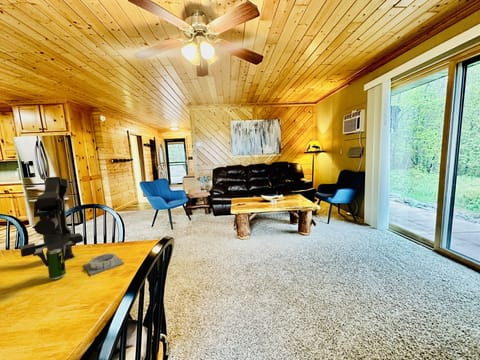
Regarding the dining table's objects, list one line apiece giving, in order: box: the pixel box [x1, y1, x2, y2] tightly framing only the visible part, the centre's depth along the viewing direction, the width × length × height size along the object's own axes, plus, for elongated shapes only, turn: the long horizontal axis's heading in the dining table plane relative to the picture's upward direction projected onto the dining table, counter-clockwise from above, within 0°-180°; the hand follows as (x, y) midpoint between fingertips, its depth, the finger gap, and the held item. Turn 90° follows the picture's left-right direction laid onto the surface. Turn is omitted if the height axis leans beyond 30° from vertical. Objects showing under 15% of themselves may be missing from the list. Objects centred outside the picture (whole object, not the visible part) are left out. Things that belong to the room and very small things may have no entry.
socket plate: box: [83, 256, 125, 277], centre depth 97 cm, size 13×13×1 cm
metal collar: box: [88, 252, 118, 270], centre depth 97 cm, size 10×10×2 cm
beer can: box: [45, 248, 67, 280], centre depth 86 cm, size 5×5×12 cm
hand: (56, 263), depth 86 cm, fingers closed on beer can, 5 cm apart
